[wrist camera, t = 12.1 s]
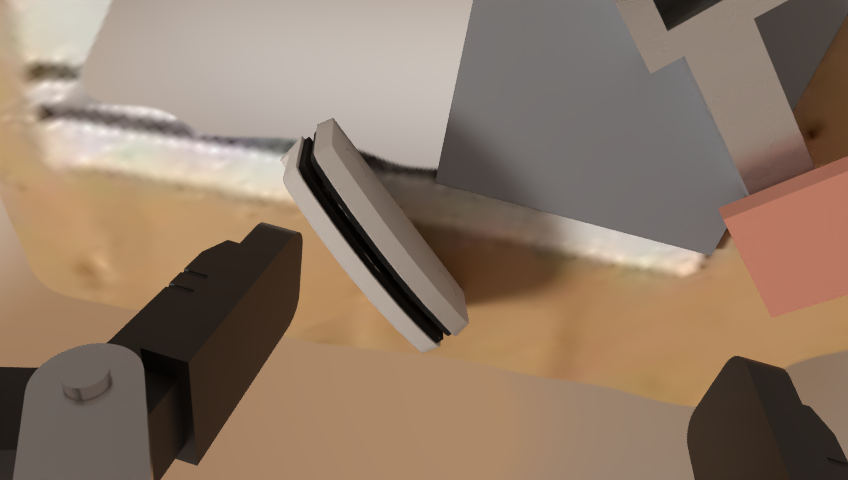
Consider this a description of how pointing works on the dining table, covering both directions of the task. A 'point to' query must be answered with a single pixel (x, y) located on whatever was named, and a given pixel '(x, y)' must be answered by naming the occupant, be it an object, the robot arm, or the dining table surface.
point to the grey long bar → (727, 80)
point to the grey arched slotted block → (373, 237)
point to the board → (605, 116)
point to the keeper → (795, 238)
